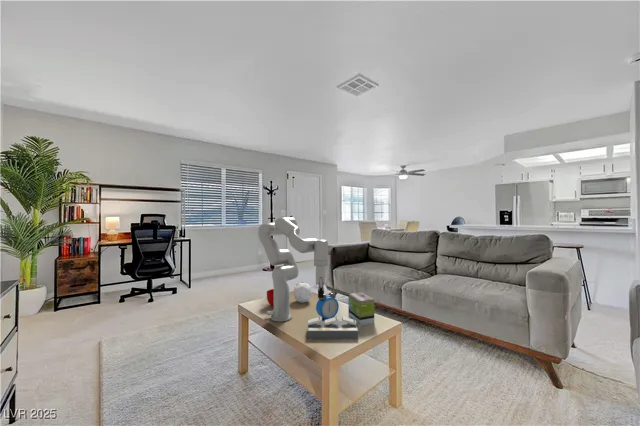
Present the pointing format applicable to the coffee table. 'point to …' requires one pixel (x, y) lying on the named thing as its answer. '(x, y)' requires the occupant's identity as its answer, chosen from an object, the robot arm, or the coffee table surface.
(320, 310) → the alarm clock
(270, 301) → the ceramic cup
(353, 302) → the tea box
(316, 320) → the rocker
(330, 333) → the switch console
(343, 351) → the coffee table surface
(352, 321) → the rocker
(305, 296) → the geodesic sphere
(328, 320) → the plate
